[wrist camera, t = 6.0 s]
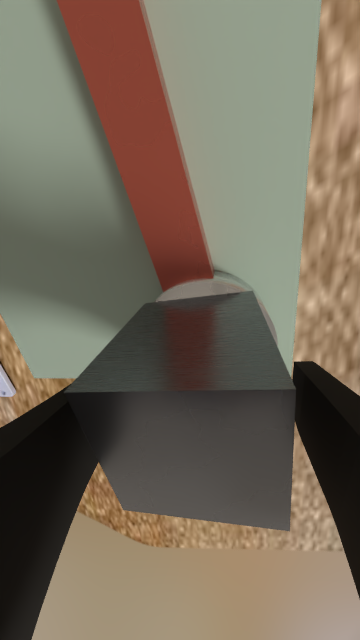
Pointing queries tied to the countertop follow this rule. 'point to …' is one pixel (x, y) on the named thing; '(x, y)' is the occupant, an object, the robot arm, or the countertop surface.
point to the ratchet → (146, 144)
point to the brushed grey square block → (193, 412)
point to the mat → (106, 183)
